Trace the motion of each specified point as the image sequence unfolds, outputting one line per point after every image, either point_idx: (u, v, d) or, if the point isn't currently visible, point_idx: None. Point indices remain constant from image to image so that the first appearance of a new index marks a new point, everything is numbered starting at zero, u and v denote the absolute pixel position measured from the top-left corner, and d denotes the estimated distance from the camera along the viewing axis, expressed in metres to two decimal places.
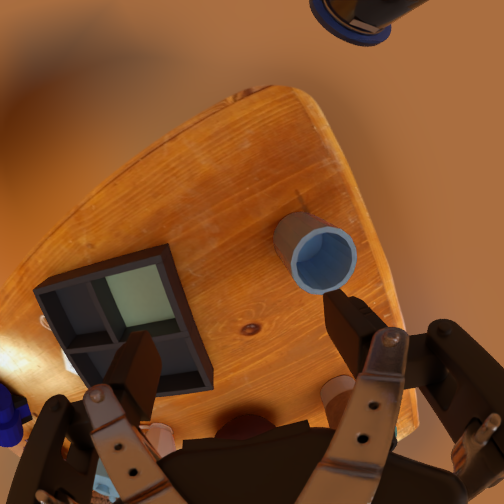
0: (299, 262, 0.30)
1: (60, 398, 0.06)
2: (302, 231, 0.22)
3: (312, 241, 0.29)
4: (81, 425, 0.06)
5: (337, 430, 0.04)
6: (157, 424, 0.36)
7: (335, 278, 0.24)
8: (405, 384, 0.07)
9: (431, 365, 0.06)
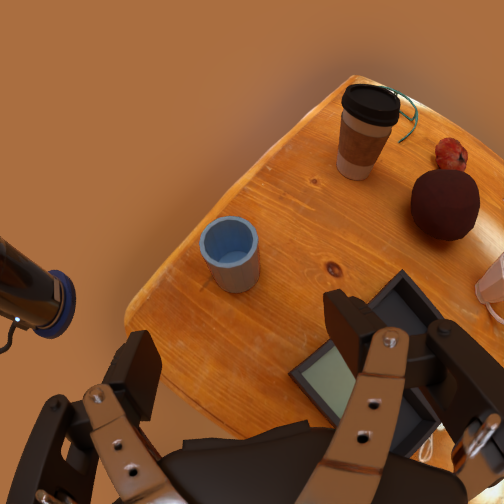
0: None
1: (60, 398, 0.06)
2: (215, 269, 0.27)
3: (233, 259, 0.35)
4: (81, 425, 0.06)
5: (337, 430, 0.04)
6: (479, 298, 0.30)
7: (240, 226, 0.29)
8: (405, 384, 0.07)
9: (431, 365, 0.06)
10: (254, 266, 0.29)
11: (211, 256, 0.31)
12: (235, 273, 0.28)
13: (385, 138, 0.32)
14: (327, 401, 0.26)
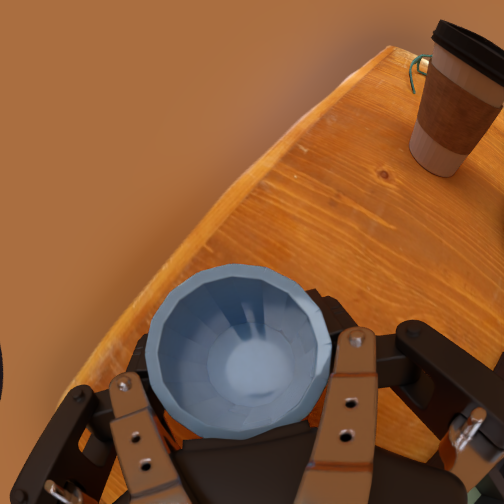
0: (291, 348, 0.15)
1: (85, 389, 0.07)
2: None
3: (244, 343, 0.15)
4: (106, 415, 0.07)
5: (337, 430, 0.04)
6: None
7: (270, 293, 0.10)
8: None
9: (399, 366, 0.07)
10: None
11: (191, 355, 0.12)
12: None
13: (499, 111, 0.12)
14: None
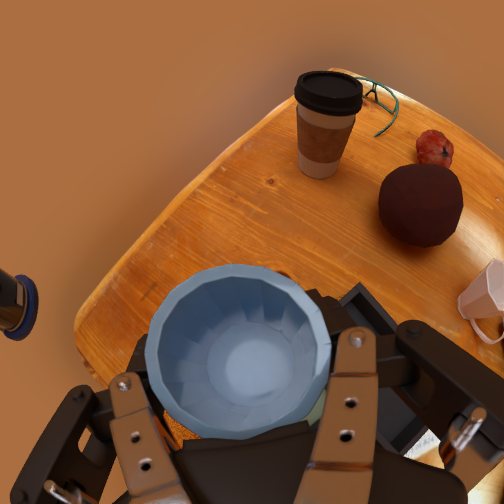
0: (291, 348, 0.15)
1: (85, 389, 0.07)
2: None
3: (244, 342, 0.15)
4: (106, 415, 0.07)
5: (337, 430, 0.04)
6: (461, 313, 0.27)
7: (270, 293, 0.10)
8: None
9: (400, 366, 0.07)
10: None
11: (191, 355, 0.12)
12: None
13: (346, 130, 0.29)
14: None
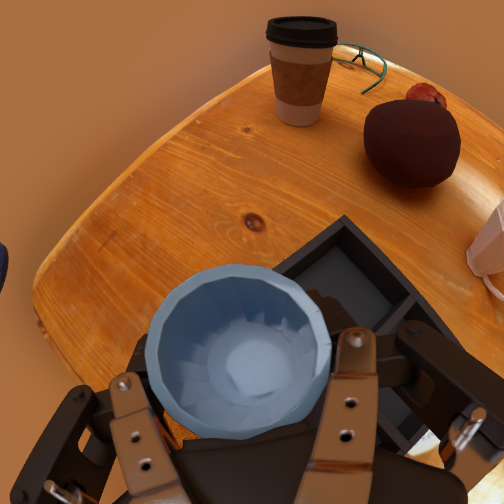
0: (291, 348, 0.15)
1: (85, 389, 0.07)
2: None
3: (244, 343, 0.15)
4: (106, 415, 0.07)
5: (337, 430, 0.04)
6: (472, 268, 0.22)
7: (270, 293, 0.10)
8: None
9: (400, 366, 0.07)
10: None
11: (191, 356, 0.12)
12: None
13: (322, 66, 0.24)
14: None
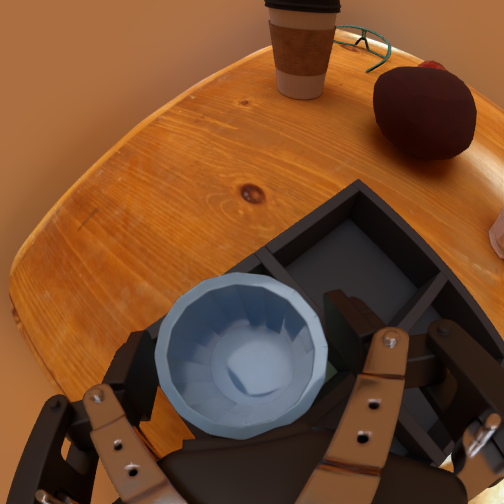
0: (291, 349, 0.15)
1: (61, 398, 0.06)
2: None
3: (246, 344, 0.16)
4: (81, 425, 0.06)
5: (337, 430, 0.04)
6: (496, 249, 0.18)
7: (271, 299, 0.10)
8: (405, 384, 0.07)
9: (431, 365, 0.06)
10: None
11: (196, 357, 0.12)
12: None
13: (325, 33, 0.20)
14: None
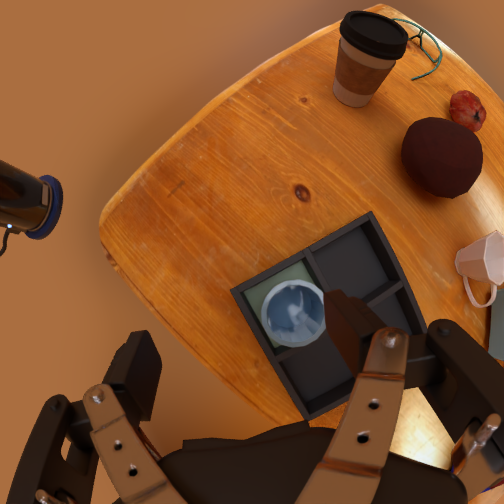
0: (310, 300, 0.30)
1: (60, 398, 0.06)
2: None
3: (287, 294, 0.30)
4: (81, 425, 0.06)
5: (337, 430, 0.04)
6: (457, 267, 0.30)
7: (310, 290, 0.24)
8: (405, 384, 0.07)
9: (431, 365, 0.06)
10: None
11: None
12: None
13: (384, 71, 0.24)
14: None
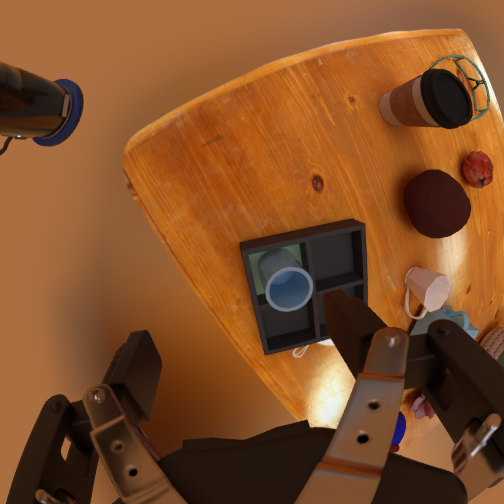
0: None
1: (60, 398, 0.06)
2: None
3: None
4: (81, 425, 0.06)
5: (337, 430, 0.04)
6: (406, 278, 0.45)
7: (304, 275, 0.33)
8: (405, 384, 0.07)
9: (431, 365, 0.06)
10: None
11: None
12: None
13: (433, 126, 0.27)
14: (256, 277, 0.41)
